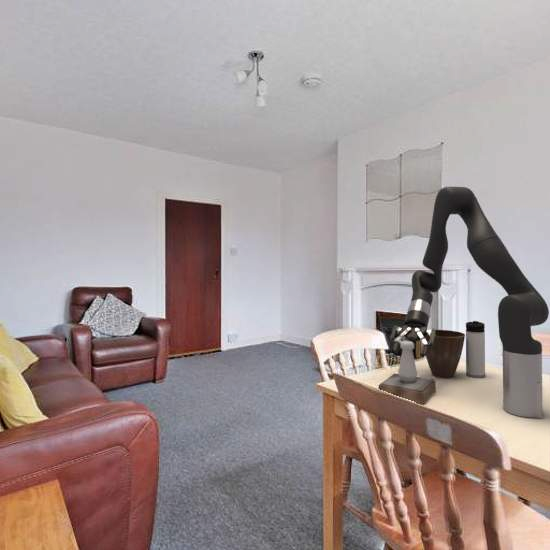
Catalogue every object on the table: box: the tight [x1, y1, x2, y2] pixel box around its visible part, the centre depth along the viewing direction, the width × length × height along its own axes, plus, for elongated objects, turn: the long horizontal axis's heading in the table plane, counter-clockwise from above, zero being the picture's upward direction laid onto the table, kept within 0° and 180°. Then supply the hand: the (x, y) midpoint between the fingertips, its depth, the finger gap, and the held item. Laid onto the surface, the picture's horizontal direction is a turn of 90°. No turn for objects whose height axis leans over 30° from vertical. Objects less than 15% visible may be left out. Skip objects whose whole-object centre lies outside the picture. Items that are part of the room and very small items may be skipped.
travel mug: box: [465, 320, 486, 379], centre depth 137 cm, size 6×7×20 cm
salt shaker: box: [397, 340, 418, 383], centre depth 120 cm, size 6×6×13 cm
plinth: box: [378, 372, 437, 406], centre depth 120 cm, size 14×14×4 cm
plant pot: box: [424, 329, 466, 379], centre depth 138 cm, size 15×15×16 cm
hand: (408, 354), depth 121 cm, fingers open, 8 cm apart
